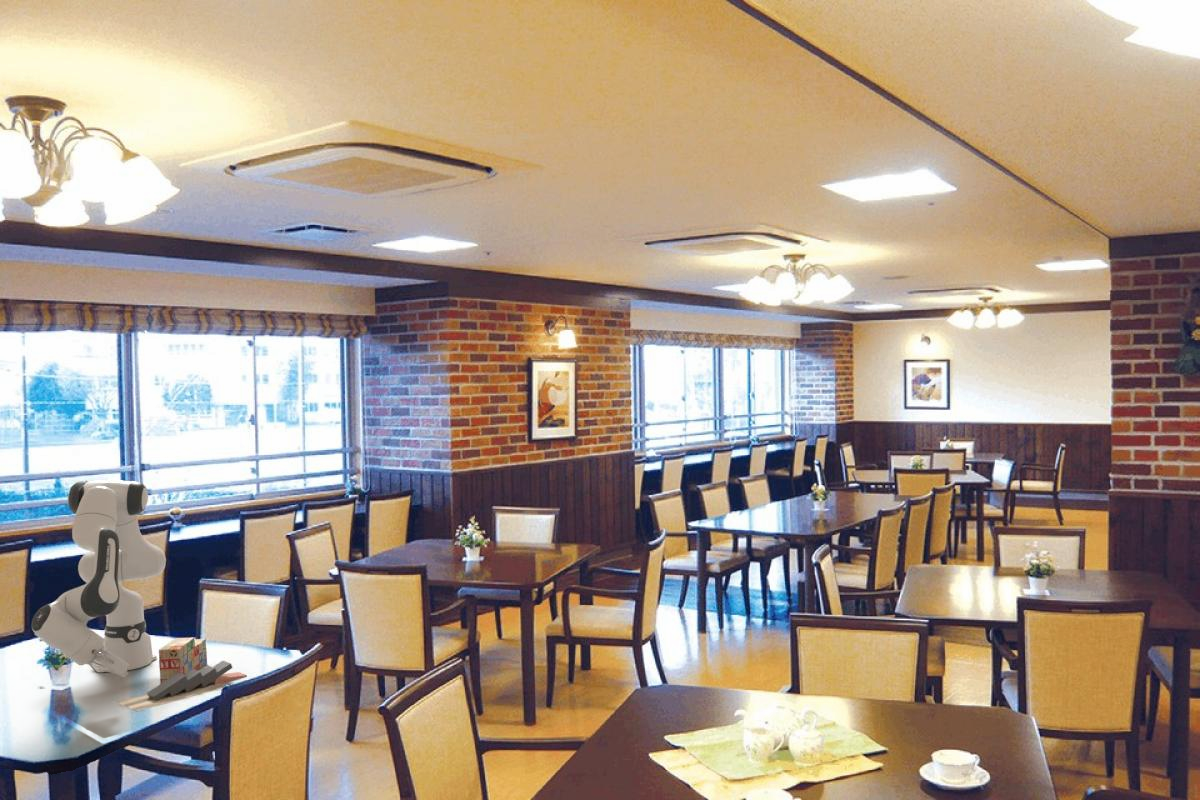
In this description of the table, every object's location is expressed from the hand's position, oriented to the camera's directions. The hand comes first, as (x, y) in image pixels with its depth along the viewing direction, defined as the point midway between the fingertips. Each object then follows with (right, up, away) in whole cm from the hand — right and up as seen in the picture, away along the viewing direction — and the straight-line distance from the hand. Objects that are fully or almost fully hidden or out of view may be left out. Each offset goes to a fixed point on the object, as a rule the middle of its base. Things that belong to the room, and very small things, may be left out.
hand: (124, 674), depth 272 cm
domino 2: (+8, -8, +9) cm, 15 cm away
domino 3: (+11, -8, +13) cm, 18 cm away
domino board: (+9, -10, +10) cm, 17 cm away
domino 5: (+17, -7, +19) cm, 27 cm away
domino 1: (+5, -8, +6) cm, 11 cm away
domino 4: (+14, -7, +16) cm, 23 cm away
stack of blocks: (+4, -10, +30) cm, 32 cm away
